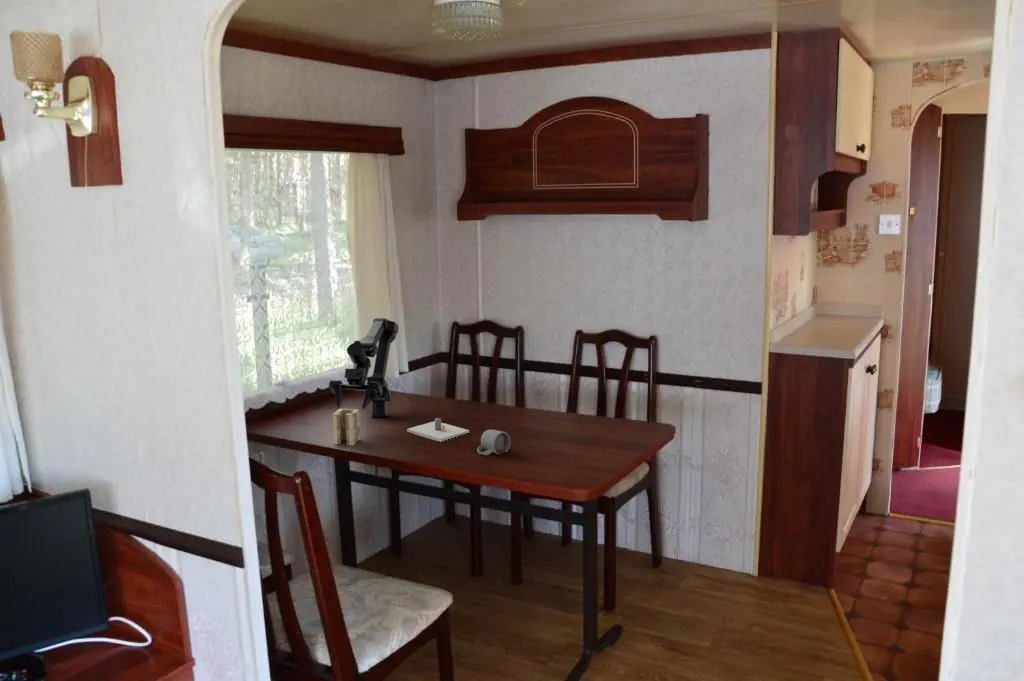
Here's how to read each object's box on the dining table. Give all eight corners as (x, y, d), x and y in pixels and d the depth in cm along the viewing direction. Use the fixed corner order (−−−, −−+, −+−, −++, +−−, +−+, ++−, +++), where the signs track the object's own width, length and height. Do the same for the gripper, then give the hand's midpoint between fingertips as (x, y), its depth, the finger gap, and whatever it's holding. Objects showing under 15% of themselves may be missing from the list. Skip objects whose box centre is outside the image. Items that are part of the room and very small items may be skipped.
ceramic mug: (495, 446, 294) (494, 425, 292) (511, 451, 288) (510, 430, 287) (471, 453, 287) (471, 431, 285) (487, 459, 281) (487, 437, 280)
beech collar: (341, 438, 303) (340, 408, 301) (360, 439, 302) (359, 409, 300) (333, 444, 296) (332, 413, 294) (353, 445, 295) (352, 414, 293)
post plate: (407, 432, 311) (406, 418, 310) (435, 424, 321) (435, 410, 320) (441, 442, 299) (440, 427, 298) (469, 433, 309) (469, 419, 308)
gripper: (329, 358, 305) (318, 395, 296) (379, 360, 302) (369, 397, 293) (338, 374, 314) (328, 411, 305) (386, 376, 311) (377, 413, 302)
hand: (350, 408), depth 301 cm, fingers open, 9 cm apart
